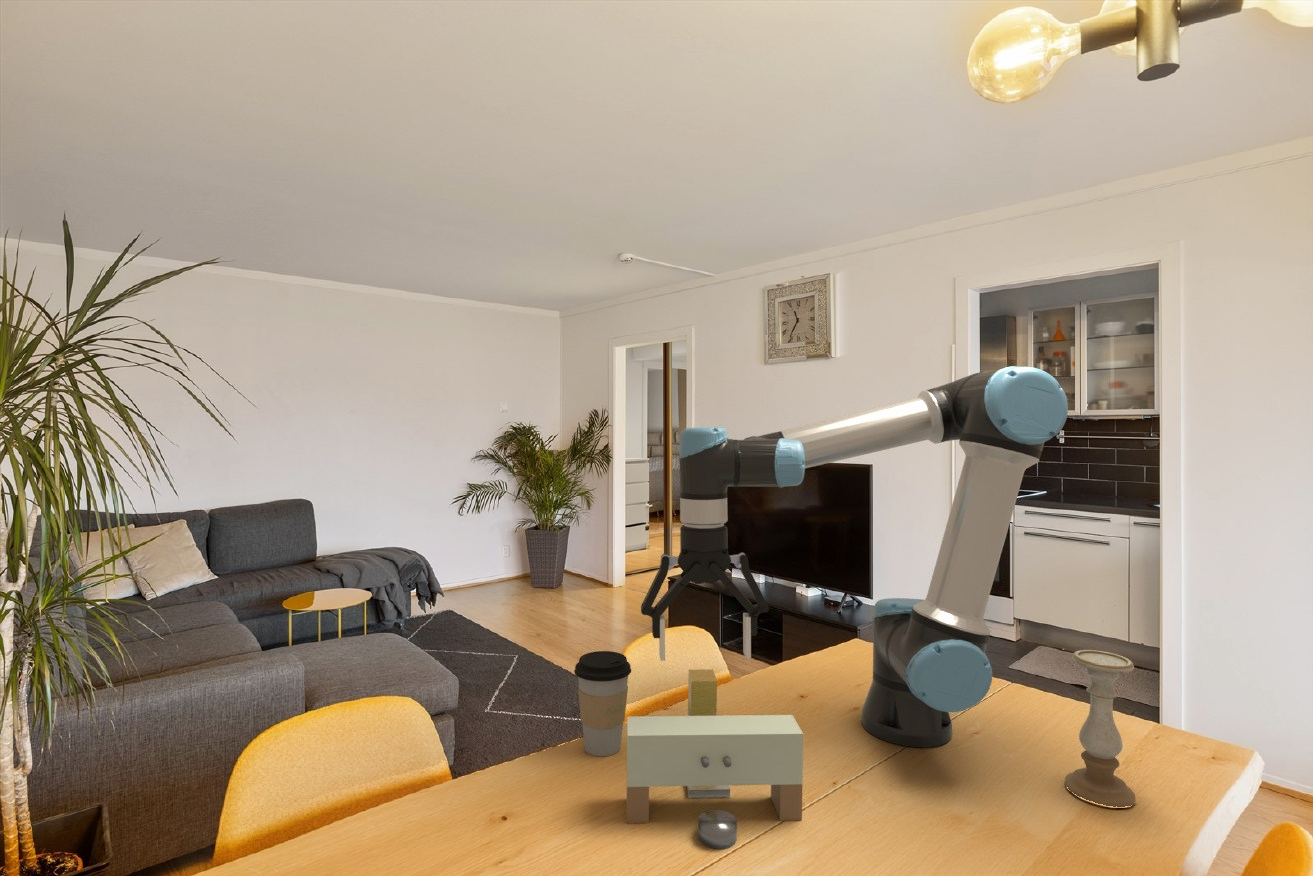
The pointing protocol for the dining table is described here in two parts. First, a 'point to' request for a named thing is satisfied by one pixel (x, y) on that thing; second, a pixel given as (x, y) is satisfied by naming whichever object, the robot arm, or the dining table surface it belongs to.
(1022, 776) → the dining table surface
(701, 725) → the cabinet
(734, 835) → the dark grey metallic disc
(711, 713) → the blade tool
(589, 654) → the coffee cup
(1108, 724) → the candle holder
